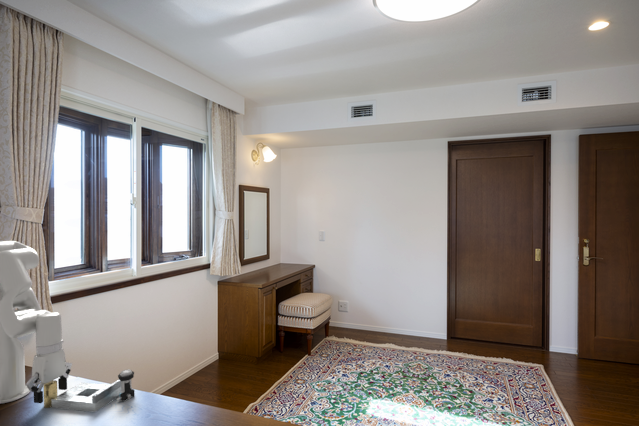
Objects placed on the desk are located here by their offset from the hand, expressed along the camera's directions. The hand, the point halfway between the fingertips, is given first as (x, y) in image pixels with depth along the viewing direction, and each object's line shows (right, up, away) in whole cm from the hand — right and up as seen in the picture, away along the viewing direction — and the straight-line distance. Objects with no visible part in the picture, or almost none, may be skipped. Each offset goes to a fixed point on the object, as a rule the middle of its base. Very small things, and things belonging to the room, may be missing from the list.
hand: (51, 395), depth 135 cm
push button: (+25, -3, +3) cm, 25 cm away
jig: (+12, -3, +3) cm, 12 cm away
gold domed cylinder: (0, -3, 0) cm, 3 cm away
